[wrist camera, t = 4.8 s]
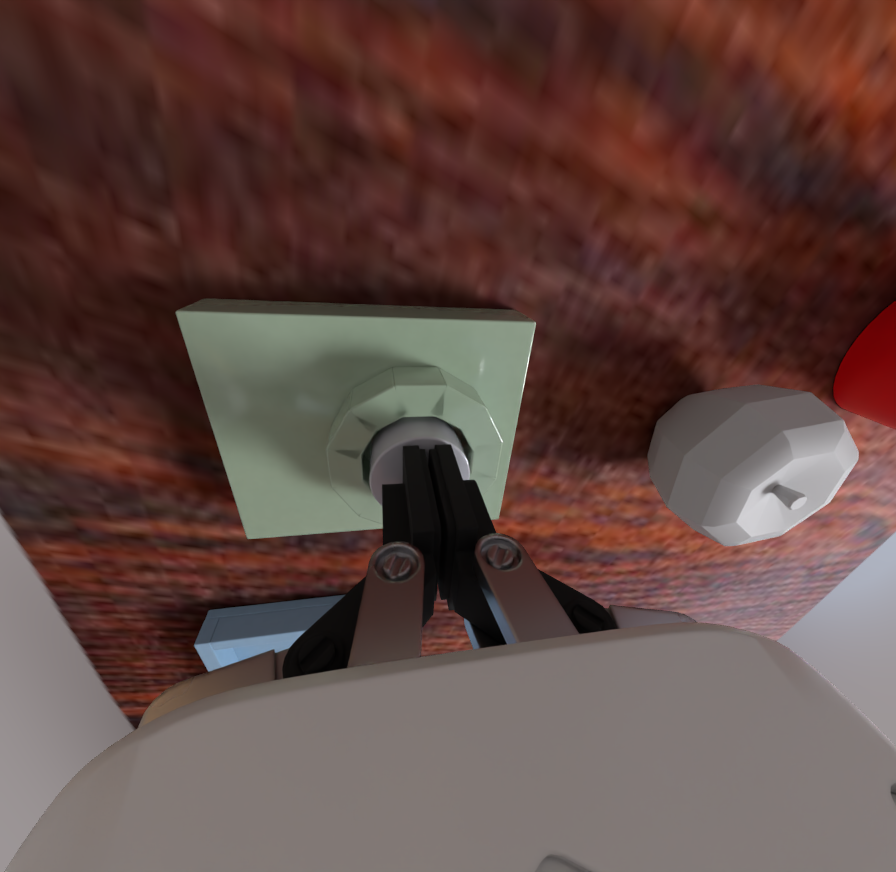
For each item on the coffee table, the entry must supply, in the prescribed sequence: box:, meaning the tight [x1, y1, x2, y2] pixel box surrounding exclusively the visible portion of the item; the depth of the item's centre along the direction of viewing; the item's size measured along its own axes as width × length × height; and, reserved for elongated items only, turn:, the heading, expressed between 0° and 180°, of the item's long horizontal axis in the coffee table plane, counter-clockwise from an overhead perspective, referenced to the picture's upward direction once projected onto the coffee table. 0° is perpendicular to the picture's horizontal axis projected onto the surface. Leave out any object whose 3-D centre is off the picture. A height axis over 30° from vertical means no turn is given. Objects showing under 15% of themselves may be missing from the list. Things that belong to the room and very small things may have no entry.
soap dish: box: [194, 595, 422, 672], centre depth 24 cm, size 13×11×2 cm
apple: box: [647, 385, 859, 546], centre depth 17 cm, size 8×8×7 cm
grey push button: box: [369, 416, 470, 506], centre depth 13 cm, size 4×4×2 cm
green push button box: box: [176, 298, 536, 539], centre depth 15 cm, size 12×10×4 cm
